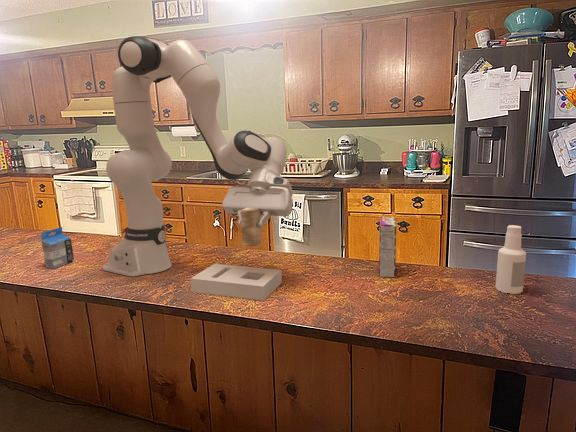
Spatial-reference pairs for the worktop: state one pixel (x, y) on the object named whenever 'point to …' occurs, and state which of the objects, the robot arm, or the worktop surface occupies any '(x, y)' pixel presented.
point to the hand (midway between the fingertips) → (250, 226)
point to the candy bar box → (387, 247)
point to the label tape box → (56, 248)
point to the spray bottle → (511, 263)
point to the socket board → (237, 281)
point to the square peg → (250, 227)
